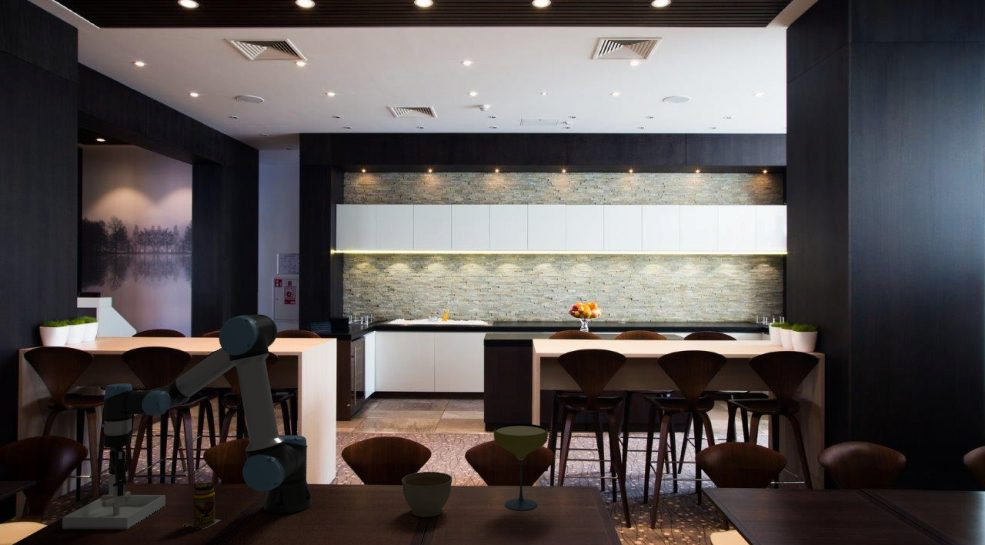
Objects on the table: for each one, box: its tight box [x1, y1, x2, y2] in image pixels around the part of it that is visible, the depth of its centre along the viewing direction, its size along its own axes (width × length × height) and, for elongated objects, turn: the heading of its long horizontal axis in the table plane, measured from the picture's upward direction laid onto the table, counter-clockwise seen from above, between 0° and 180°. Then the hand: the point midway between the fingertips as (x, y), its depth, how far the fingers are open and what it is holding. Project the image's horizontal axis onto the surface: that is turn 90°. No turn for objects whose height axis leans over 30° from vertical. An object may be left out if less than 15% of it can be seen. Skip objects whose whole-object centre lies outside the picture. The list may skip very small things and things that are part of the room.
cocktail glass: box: [493, 423, 549, 512], centre depth 201 cm, size 18×18×25 cm
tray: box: [61, 494, 166, 530], centre depth 192 cm, size 20×20×4 cm
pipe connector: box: [100, 483, 133, 516], centre depth 192 cm, size 10×10×10 cm
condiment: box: [182, 482, 222, 530], centre depth 186 cm, size 7×8×12 cm
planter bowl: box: [401, 471, 453, 518], centre depth 195 cm, size 16×16×11 cm
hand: (116, 500), depth 192 cm, fingers open, 13 cm apart
